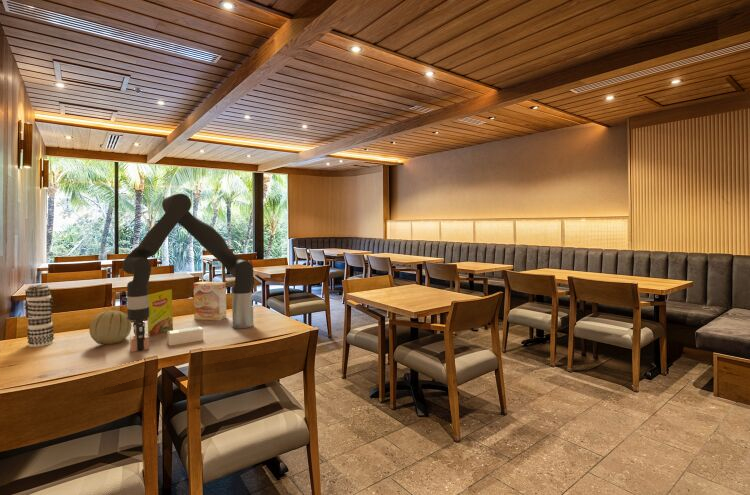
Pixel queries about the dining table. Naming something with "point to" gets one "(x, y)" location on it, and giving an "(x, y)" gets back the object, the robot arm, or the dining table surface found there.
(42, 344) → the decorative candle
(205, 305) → the coffeecake box
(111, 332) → the cantaloupe
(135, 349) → the stub
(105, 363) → the dining table surface
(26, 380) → the dining table surface
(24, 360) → the dining table surface
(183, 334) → the white rectangular block
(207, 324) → the dining table surface
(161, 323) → the food package
